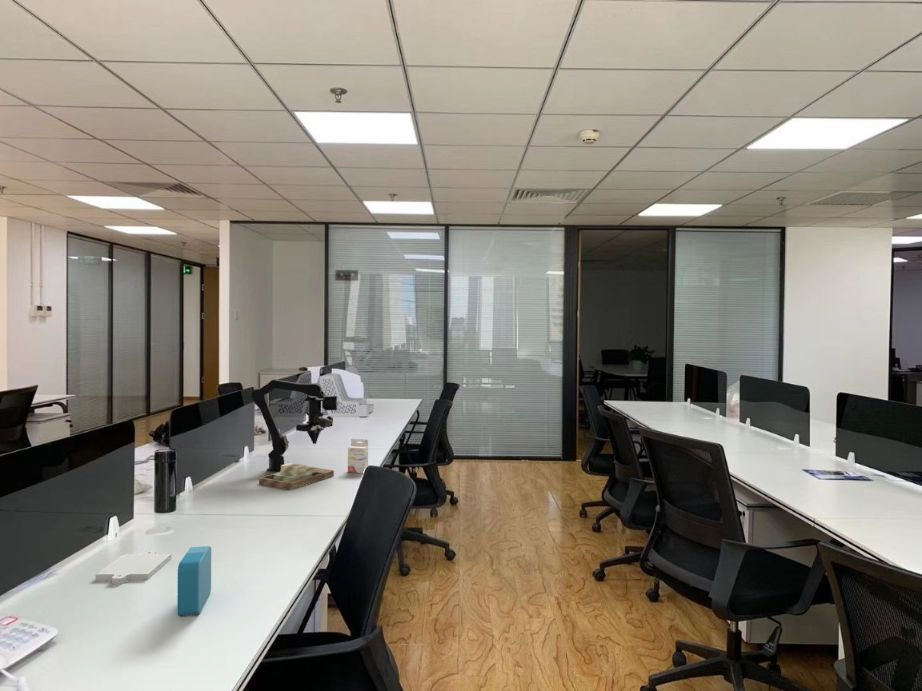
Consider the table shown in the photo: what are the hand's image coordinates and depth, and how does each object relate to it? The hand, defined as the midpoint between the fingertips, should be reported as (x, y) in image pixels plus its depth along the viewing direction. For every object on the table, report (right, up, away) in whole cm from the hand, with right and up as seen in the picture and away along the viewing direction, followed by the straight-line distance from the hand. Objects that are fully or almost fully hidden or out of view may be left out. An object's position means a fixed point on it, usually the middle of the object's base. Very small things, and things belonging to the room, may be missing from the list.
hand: (314, 443), depth 262 cm
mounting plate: (-18, -14, -112) cm, 115 cm away
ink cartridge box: (+21, -13, -3) cm, 25 cm away
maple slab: (-4, -10, -18) cm, 21 cm away
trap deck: (-2, -12, -19) cm, 23 cm away
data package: (+7, -15, -131) cm, 132 cm away
